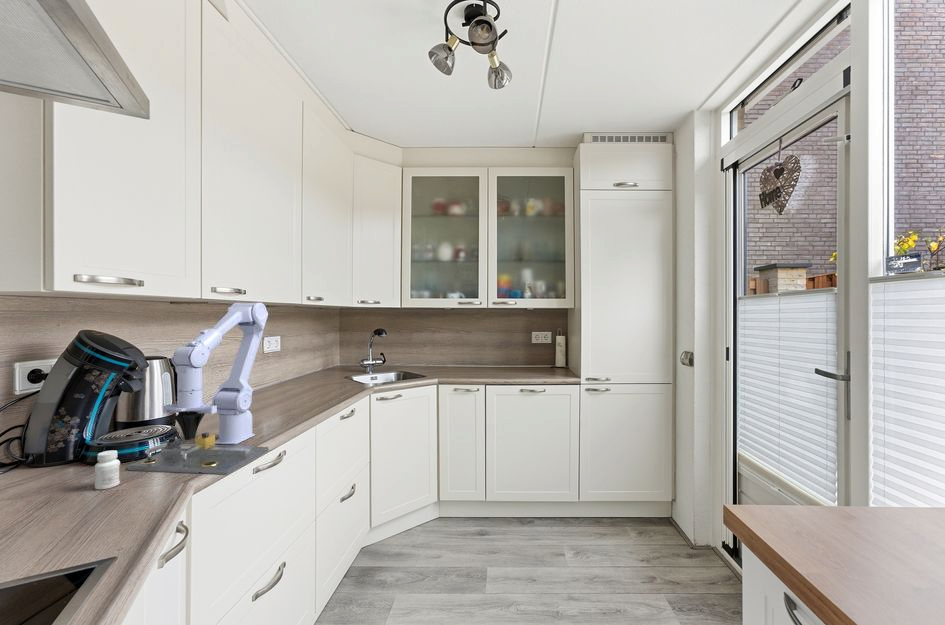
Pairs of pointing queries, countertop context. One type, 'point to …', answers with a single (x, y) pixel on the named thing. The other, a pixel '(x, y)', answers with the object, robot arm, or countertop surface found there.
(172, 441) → the fixed leg
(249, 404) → the robot arm
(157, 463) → the flange plate
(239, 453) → the rail
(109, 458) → the pill bottle
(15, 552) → the countertop surface
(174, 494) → the countertop surface
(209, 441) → the sliding leg
